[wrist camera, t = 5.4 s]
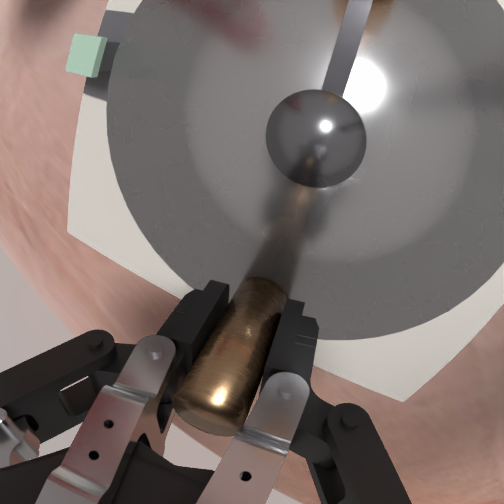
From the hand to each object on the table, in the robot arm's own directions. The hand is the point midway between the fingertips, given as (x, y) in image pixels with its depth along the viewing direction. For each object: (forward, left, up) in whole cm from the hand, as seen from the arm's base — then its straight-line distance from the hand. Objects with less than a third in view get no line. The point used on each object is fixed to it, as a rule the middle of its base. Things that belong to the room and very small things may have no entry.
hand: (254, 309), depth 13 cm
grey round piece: (-7, -1, -3) cm, 7 cm away
